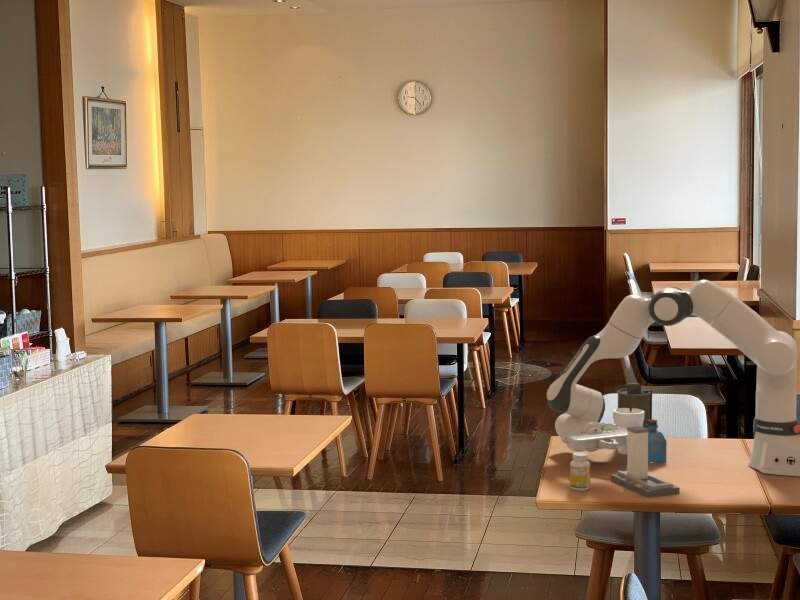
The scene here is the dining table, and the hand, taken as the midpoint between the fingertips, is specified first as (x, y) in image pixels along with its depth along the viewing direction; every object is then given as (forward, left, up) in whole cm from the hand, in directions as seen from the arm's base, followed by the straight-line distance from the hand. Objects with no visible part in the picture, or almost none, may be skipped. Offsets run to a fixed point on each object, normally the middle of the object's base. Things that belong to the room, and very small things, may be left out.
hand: (614, 446), depth 297 cm
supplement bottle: (+1, +20, -8) cm, 21 cm away
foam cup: (+6, -24, -8) cm, 26 cm away
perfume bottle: (-4, -19, -8) cm, 21 cm away
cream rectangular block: (-10, +7, -6) cm, 13 cm away
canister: (+8, -33, -8) cm, 34 cm away
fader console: (-13, +9, -8) cm, 17 cm away
